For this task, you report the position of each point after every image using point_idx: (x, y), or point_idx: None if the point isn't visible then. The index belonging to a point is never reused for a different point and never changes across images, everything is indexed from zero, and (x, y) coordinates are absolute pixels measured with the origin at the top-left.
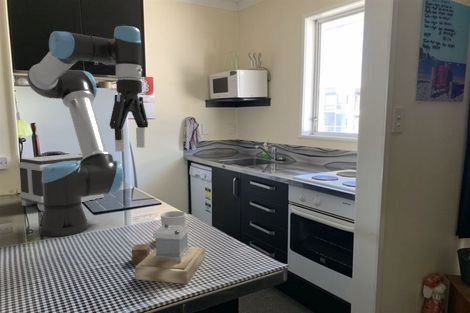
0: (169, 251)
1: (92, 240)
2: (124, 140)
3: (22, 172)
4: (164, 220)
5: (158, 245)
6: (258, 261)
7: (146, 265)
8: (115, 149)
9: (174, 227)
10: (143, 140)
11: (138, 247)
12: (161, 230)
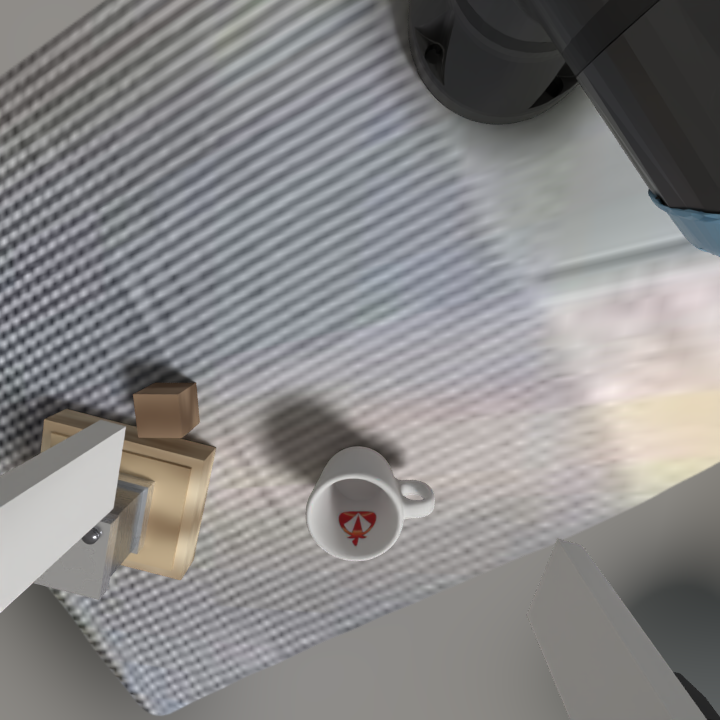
0: None
1: (356, 199)
2: (25, 579)
3: None
4: (317, 483)
5: None
6: (178, 675)
7: (50, 447)
8: (86, 428)
9: (82, 557)
10: (559, 678)
11: (153, 410)
12: None
